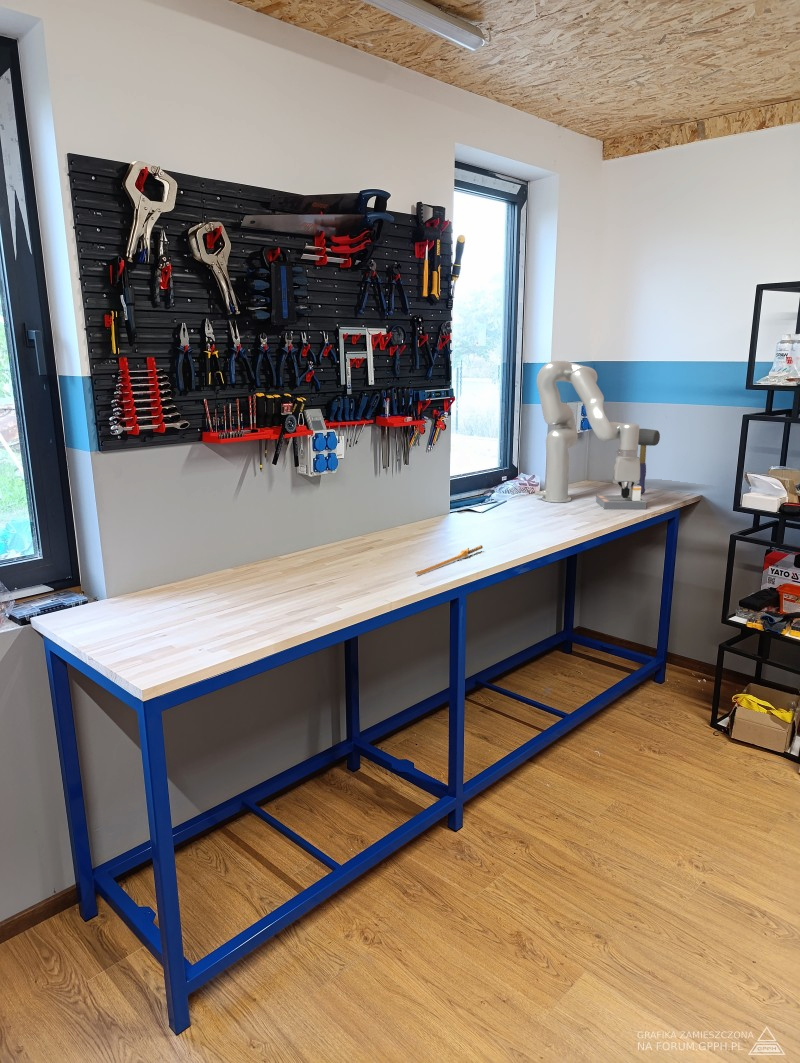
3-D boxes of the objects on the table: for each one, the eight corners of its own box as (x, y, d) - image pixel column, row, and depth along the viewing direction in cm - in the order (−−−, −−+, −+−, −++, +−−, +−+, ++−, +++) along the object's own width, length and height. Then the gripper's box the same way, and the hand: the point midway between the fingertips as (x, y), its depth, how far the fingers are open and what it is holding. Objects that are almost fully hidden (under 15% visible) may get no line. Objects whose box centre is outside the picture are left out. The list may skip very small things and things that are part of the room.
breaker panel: (604, 509, 298) (605, 487, 296) (596, 501, 314) (597, 481, 311) (645, 509, 297) (647, 487, 295) (635, 502, 312) (637, 481, 310)
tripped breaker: (632, 500, 298) (633, 486, 297) (630, 499, 302) (631, 484, 301) (640, 500, 298) (641, 486, 297) (637, 499, 302) (638, 484, 301)
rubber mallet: (623, 494, 331) (627, 428, 324) (631, 491, 336) (635, 427, 329) (649, 497, 323) (654, 430, 316) (656, 495, 328) (661, 428, 321)
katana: (414, 579, 209) (413, 570, 208) (479, 550, 235) (479, 542, 234) (417, 580, 208) (417, 571, 207) (482, 550, 234) (482, 542, 233)
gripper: (611, 454, 293) (608, 499, 297) (648, 454, 292) (645, 499, 296) (607, 452, 300) (604, 495, 304) (644, 452, 299) (640, 496, 303)
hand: (624, 497), depth 300 cm, fingers closed
